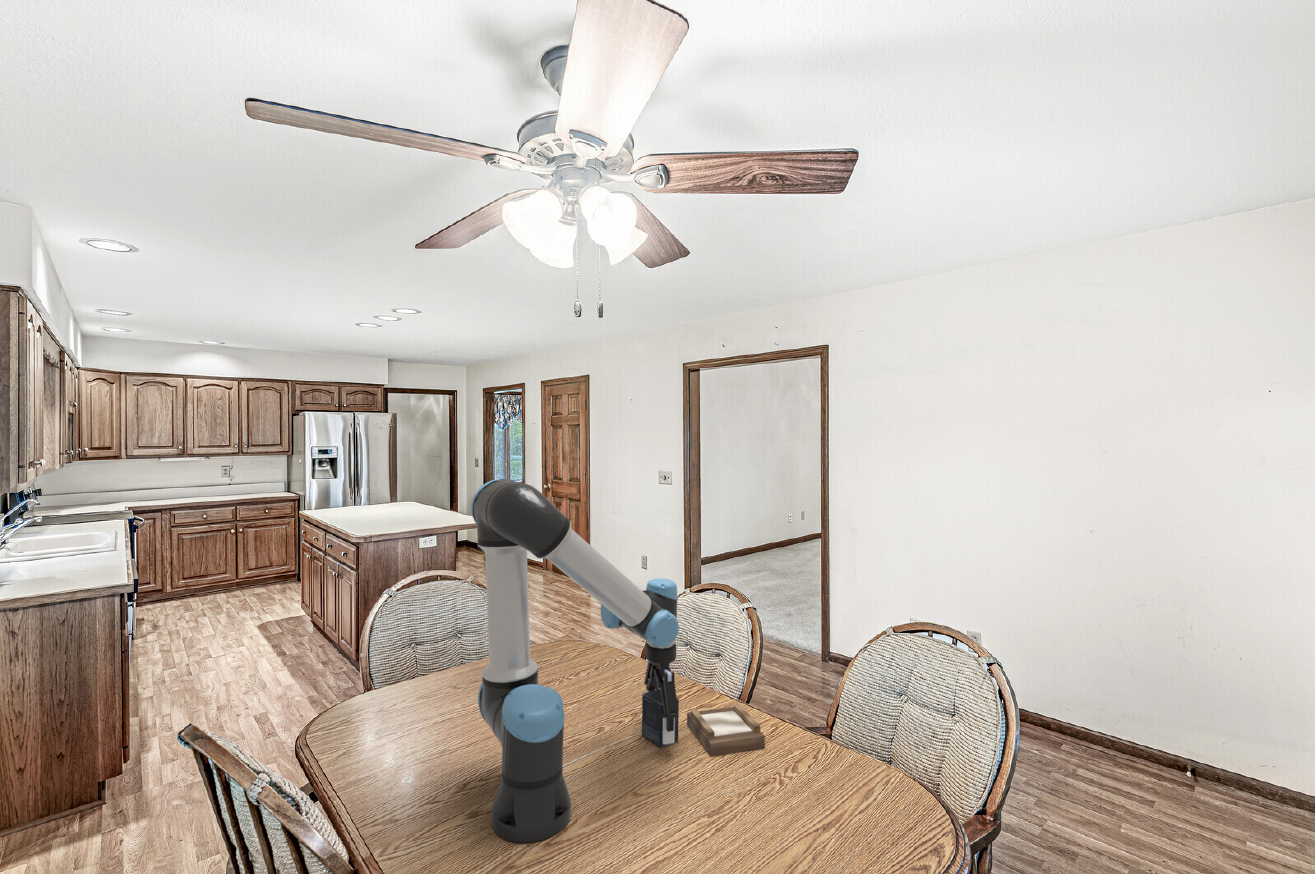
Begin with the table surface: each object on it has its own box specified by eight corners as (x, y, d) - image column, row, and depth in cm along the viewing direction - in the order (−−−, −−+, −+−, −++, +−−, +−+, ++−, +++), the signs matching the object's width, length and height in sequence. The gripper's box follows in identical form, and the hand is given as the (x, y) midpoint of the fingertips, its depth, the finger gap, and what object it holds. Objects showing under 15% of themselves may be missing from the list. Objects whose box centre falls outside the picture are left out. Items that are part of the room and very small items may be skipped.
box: (678, 741, 144) (679, 698, 144) (661, 748, 140) (661, 704, 140) (658, 728, 150) (659, 687, 150) (640, 735, 146) (641, 693, 146)
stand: (764, 747, 141) (764, 729, 141) (710, 756, 137) (710, 736, 137) (736, 717, 156) (736, 700, 156) (687, 724, 152) (687, 706, 152)
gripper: (693, 659, 134) (691, 752, 134) (660, 626, 158) (659, 705, 158) (662, 663, 132) (660, 757, 132) (633, 628, 156) (632, 708, 156)
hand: (659, 729), depth 145 cm, fingers open, 13 cm apart
